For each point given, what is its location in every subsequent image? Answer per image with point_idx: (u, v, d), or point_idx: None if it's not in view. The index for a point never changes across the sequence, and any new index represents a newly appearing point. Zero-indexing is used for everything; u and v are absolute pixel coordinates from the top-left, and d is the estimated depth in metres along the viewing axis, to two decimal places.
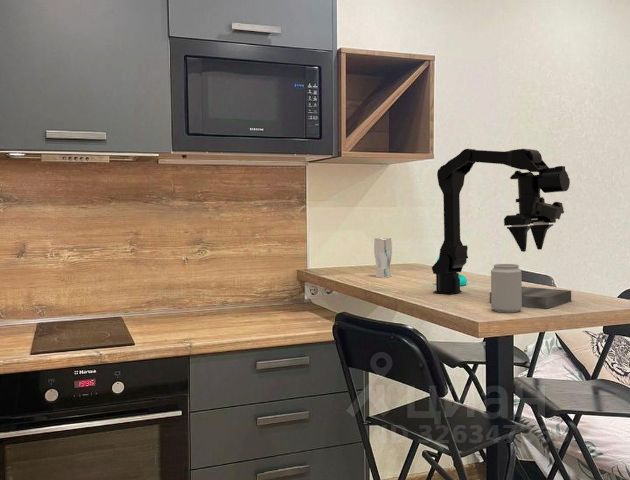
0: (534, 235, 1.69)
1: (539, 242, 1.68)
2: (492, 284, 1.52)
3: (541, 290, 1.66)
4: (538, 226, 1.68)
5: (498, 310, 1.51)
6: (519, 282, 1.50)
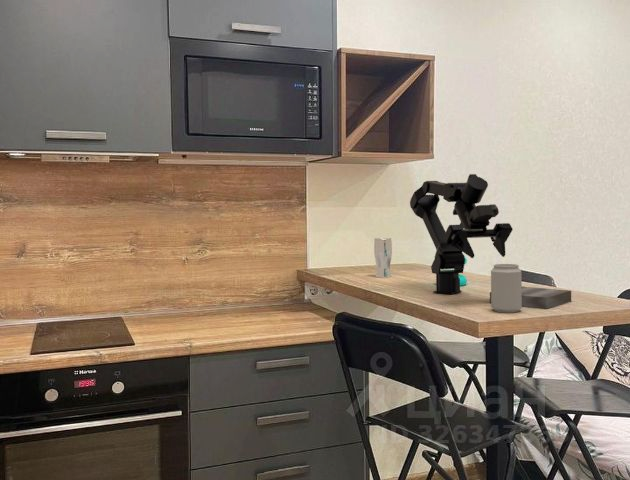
0: (497, 248, 1.65)
1: (501, 250, 1.63)
2: (492, 284, 1.52)
3: (541, 290, 1.66)
4: (496, 238, 1.66)
5: (498, 310, 1.51)
6: (519, 282, 1.50)
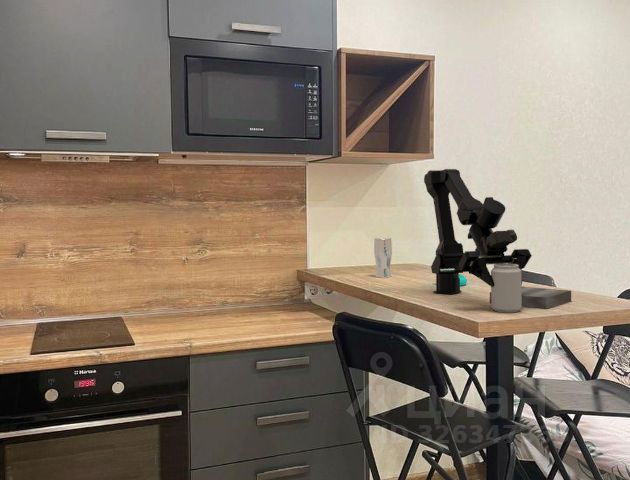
0: None
1: None
2: None
3: (541, 290, 1.66)
4: None
5: (498, 310, 1.51)
6: (519, 282, 1.50)
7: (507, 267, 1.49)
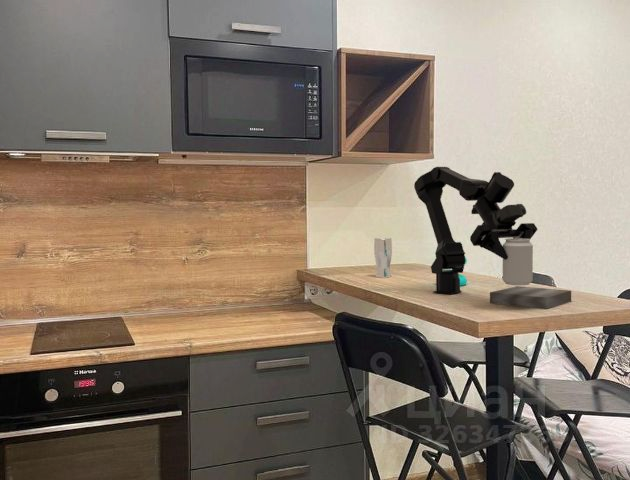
0: None
1: None
2: None
3: (541, 290, 1.66)
4: None
5: (511, 283, 1.54)
6: (531, 255, 1.54)
7: (521, 241, 1.53)
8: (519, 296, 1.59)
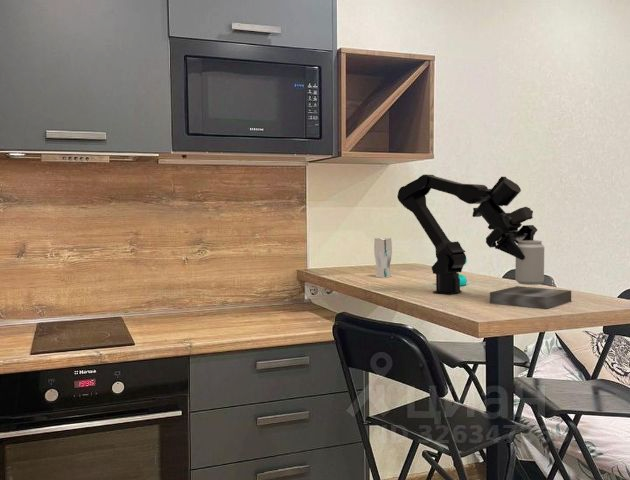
0: None
1: None
2: (520, 259, 1.63)
3: (541, 290, 1.66)
4: None
5: (528, 283, 1.62)
6: None
7: (536, 242, 1.61)
8: (519, 296, 1.59)
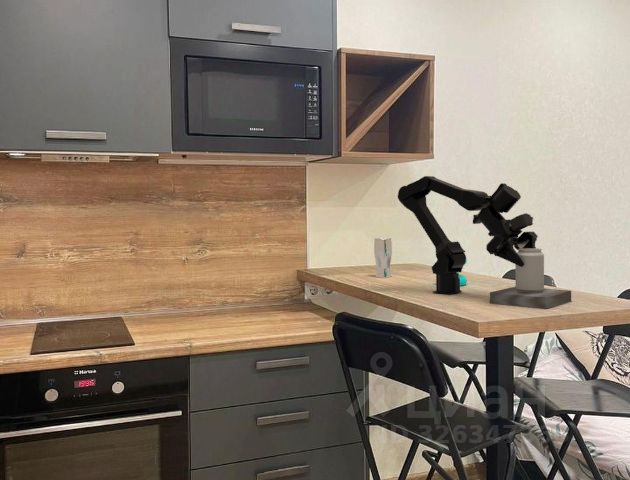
0: None
1: None
2: (520, 267, 1.63)
3: None
4: (525, 246, 1.71)
5: (528, 291, 1.62)
6: (543, 264, 1.63)
7: (536, 251, 1.62)
8: (519, 296, 1.59)
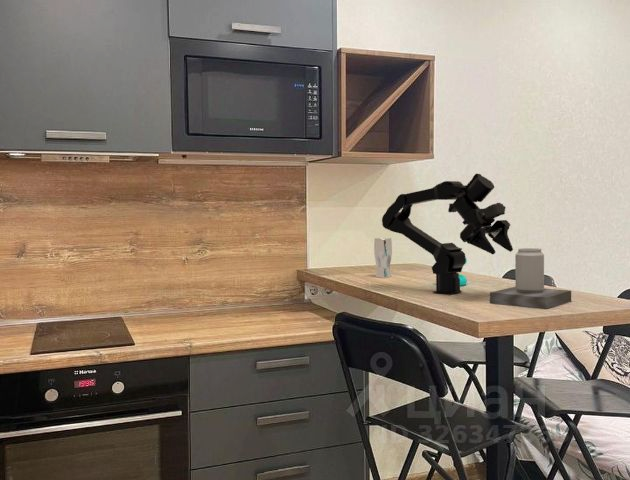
0: (501, 243, 1.77)
1: (507, 245, 1.75)
2: (520, 267, 1.63)
3: None
4: (498, 234, 1.78)
5: (528, 291, 1.62)
6: (543, 264, 1.63)
7: (536, 251, 1.62)
8: (519, 296, 1.59)
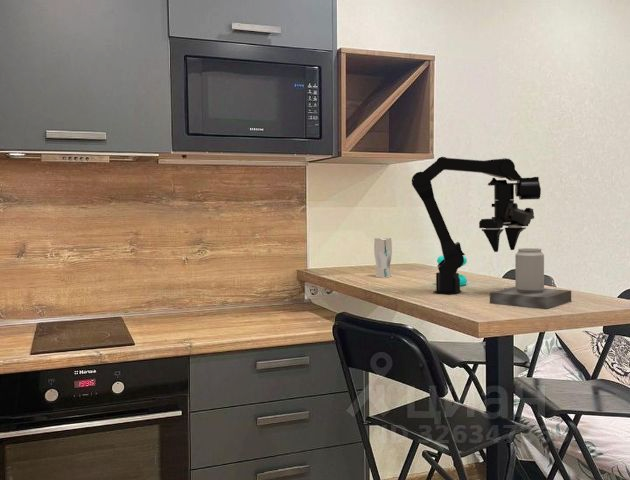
0: (508, 237, 1.87)
1: (512, 244, 1.85)
2: (520, 267, 1.63)
3: None
4: (512, 229, 1.86)
5: (528, 291, 1.62)
6: (543, 264, 1.63)
7: (536, 251, 1.62)
8: (519, 296, 1.59)
